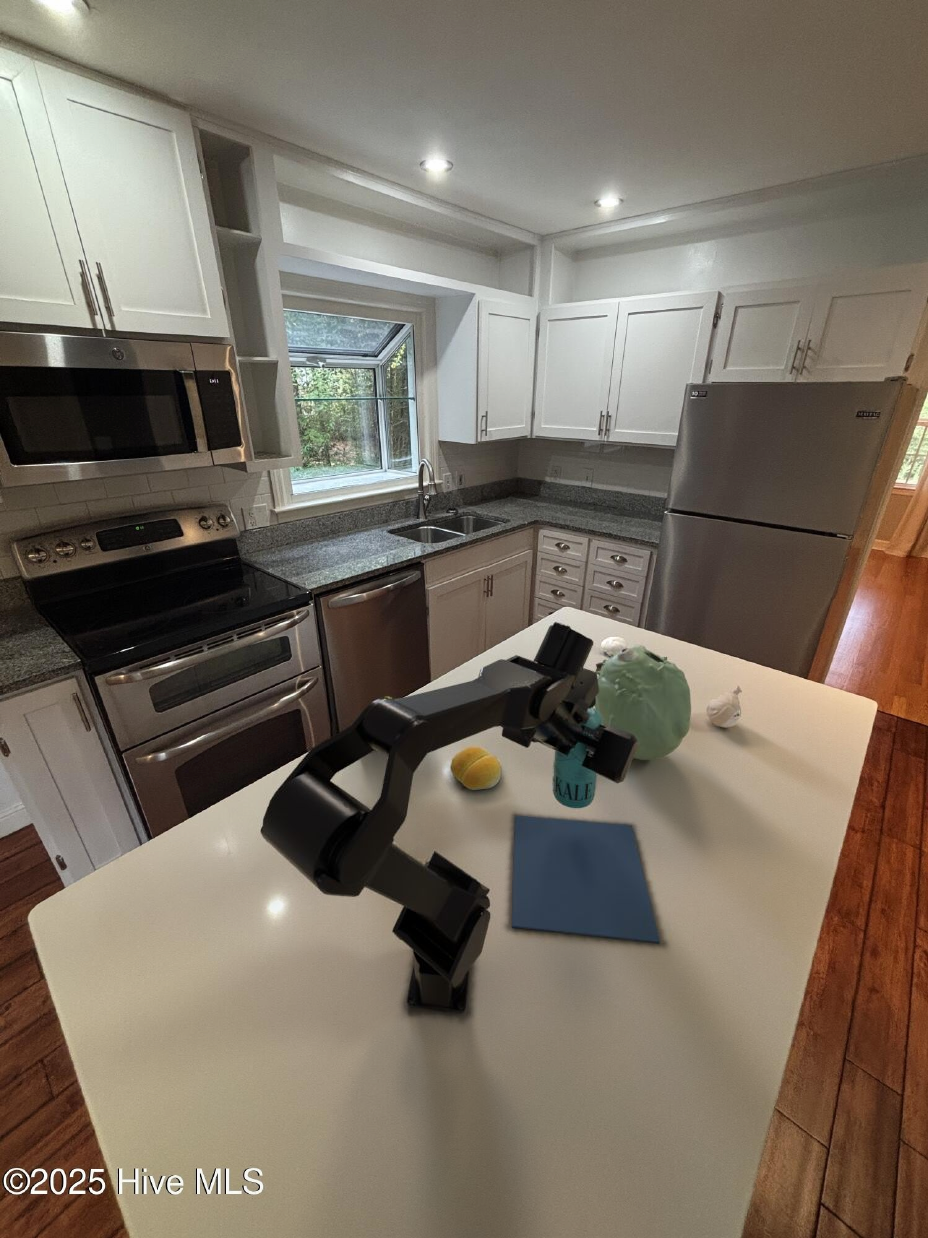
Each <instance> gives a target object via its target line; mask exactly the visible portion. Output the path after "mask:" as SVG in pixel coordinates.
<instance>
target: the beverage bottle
mask: <svg viewBox="0 0 928 1238" xmlns="http://www.w3.org/2000/svg"><path fill="white" fill-rule="evenodd" d="M595 704H596V698H594V700H593V701H592V703H591V705H590V706H589V708H588V710H587V713H588V714H589V715H590V717H589V719H588V721H587V723H586V724H584V723H582V725H584V726H586V727H589V728H591V729H595V728H597V727H599V725H600V724H601V722H602V718H601V715H600V714H599V712H598V711H597V710H596V709H595ZM582 735H585V733H584V734H583V732H582ZM585 736H587V737H589V738H591V735H590V736H588V734H587V735H585ZM593 737H594V736H593ZM586 748H587V746H586V745H584V744H581V743H579V742H578V743H577V744H576V746H575V749H573V750H572V749H571V750H570V752H569V754H568V756H566V755H564V754H562V753H559V752H557V751H555V750H554V759H553V761H552V762H553V765H552V769H553V775H552V779H551V780H552V784H551V785H552V786H551V787H552V794H553V796H554V798H555V799H556V801H557V802H558V803H559V804H561V805H562V806H564V807H566V808H570V809H583V808H586V807H588V806H590V805H591V804H592V802H593V801H594V799H595V796H596V795H597V792H596V791H597V785H598V782H597V781H598V775H597V773H595V772H593V771H591V770H589V769H587V768H585V767H583V766H582V763H583V761H584V759H585V756H586V754H587V752H588V751H587V750H586Z"/></svg>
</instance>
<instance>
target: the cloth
mask: <svg viewBox="0 0 928 1238" xmlns="http://www.w3.org/2000/svg"><path fill="white" fill-rule="evenodd" d="M513 827H514V831H513V833H514V834H513V866H512V868H513V869H512V870H513V871H512V907H511V909H512V910H511V912H512V913H511V928H514V929H515V928H516V929H526V930H534V931H542V932H543V931H544V932H551V933H553V932H554V933H563V934H572V935H580V936H592V937H599V938H607V939H608V938H609V939H616V940H617V939H618V940H627V941H637V942H646V943H656V944H661V939H660V935H659V931H658V926H657V922H656V919H655V914H654V911H653V905H652V902H651V898H650V894H649V889H648V886H647V882H646V877H645V873H644V869H643V865H642V861H641V857H640V853H639V849H638V845H637V841H636V837H635V833H634V828H633V825H632V824H625V823H623V824H622V823H610V822H597V821H588V820H587V821H586V820H575V819H565V818H564V819H563V818H551V817H550V818H549V817H539V816H528V815H514V826H513Z"/></svg>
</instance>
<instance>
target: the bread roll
mask: <svg viewBox="0 0 928 1238" xmlns="http://www.w3.org/2000/svg"><path fill="white" fill-rule="evenodd" d="M449 769H450V771H451V773H452V776H454V778H455V779H456V780H458V781H459V782H460V783H462V785H463V786H464V787H466V788H467V789H469V790H472V791H477V790H478V791H479V790H487V789H492V788H493V787H495V786H496V785H497V784H498V783H499V782H500V779H501V776H502V772H503V771H502V770H503V769H502V765H501V762H500V760H499V759H498V758H497V757H495V756H494V755H491V753H489V752H488V751H487V750H486V749H484V748H482V747H480V746H468V747H466V748H463V749H462V750H460V751H459V752H458V753H456V754H454V756H453V757H452V758H451V762H450V768H449Z"/></svg>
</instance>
